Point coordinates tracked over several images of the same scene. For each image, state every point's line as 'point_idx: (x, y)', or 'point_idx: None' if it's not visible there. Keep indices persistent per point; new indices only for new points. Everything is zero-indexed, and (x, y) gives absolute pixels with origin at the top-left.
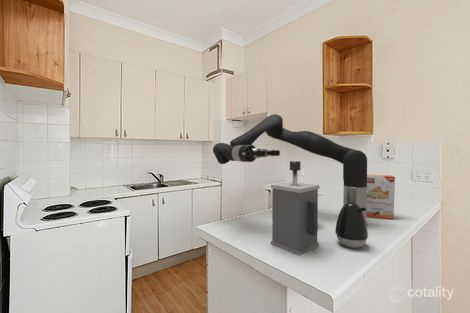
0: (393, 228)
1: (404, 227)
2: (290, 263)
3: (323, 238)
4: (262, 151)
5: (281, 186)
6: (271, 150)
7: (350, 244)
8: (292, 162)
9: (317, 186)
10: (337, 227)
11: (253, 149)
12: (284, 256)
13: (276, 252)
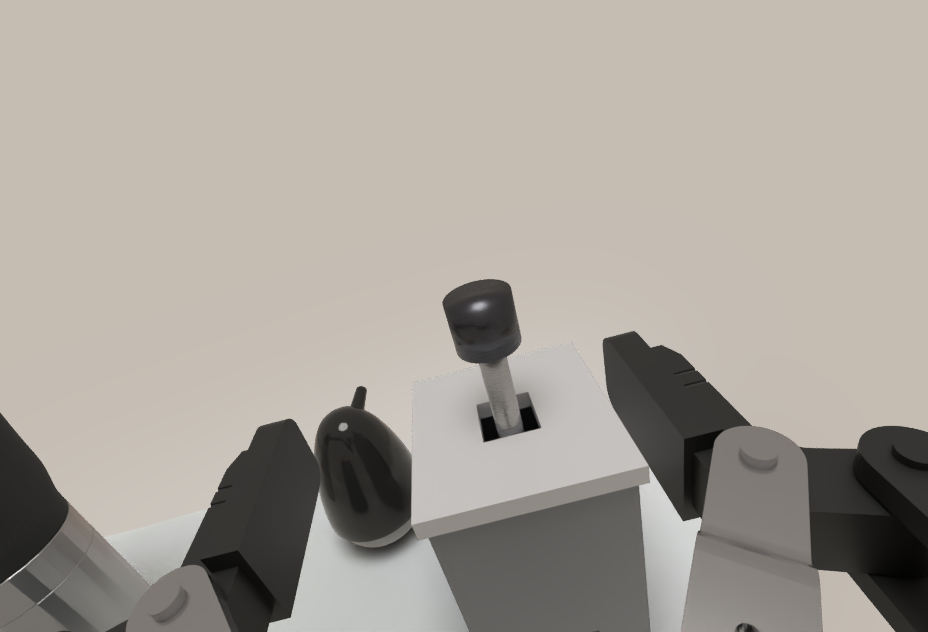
0: (137, 553)
1: (110, 543)
2: (658, 502)
3: (402, 604)
4: (645, 353)
5: (610, 404)
6: (208, 577)
7: None
8: (510, 289)
9: (431, 381)
10: (404, 495)
11: (814, 573)
12: (654, 545)
13: (671, 585)
